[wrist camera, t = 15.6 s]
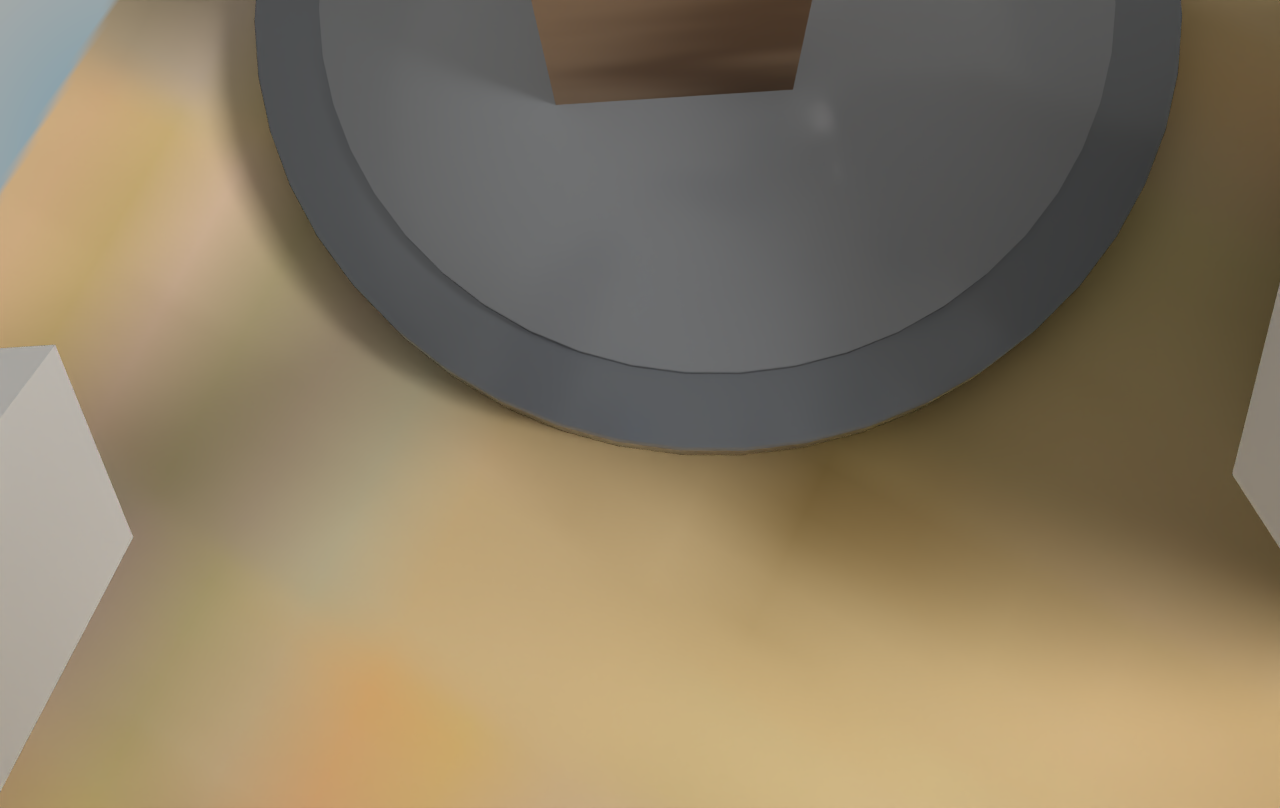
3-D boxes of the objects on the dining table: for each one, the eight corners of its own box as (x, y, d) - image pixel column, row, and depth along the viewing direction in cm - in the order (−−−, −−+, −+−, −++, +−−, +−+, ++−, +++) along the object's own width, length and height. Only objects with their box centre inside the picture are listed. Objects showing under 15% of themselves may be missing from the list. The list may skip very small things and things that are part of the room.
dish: (1101, -399, 29) (1124, -452, 28) (1218, 427, 26) (1250, 415, 24) (272, -339, 30) (250, -389, 28) (273, 482, 26) (249, 474, 25)
